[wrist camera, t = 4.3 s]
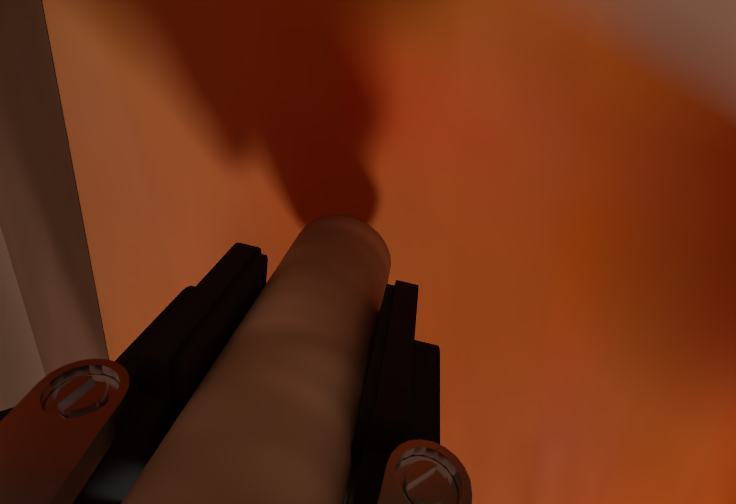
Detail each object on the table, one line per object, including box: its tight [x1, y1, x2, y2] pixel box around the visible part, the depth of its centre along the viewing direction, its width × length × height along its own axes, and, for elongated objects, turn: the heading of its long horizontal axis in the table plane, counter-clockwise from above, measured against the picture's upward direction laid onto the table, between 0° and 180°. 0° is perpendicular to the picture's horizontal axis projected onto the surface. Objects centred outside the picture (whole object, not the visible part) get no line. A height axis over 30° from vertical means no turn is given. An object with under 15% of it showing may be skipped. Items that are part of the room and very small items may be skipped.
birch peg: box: [121, 215, 391, 504], centre depth 8 cm, size 3×3×10 cm
